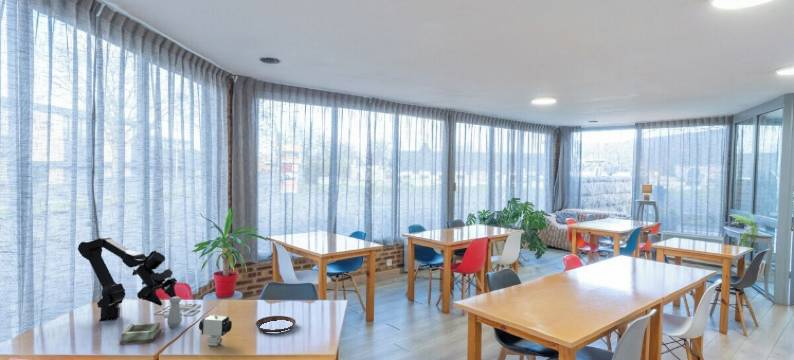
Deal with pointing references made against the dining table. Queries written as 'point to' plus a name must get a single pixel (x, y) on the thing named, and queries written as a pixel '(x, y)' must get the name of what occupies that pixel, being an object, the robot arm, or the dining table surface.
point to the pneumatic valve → (215, 328)
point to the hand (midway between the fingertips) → (168, 302)
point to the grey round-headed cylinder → (174, 312)
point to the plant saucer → (274, 318)
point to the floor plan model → (183, 307)
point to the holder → (140, 333)
